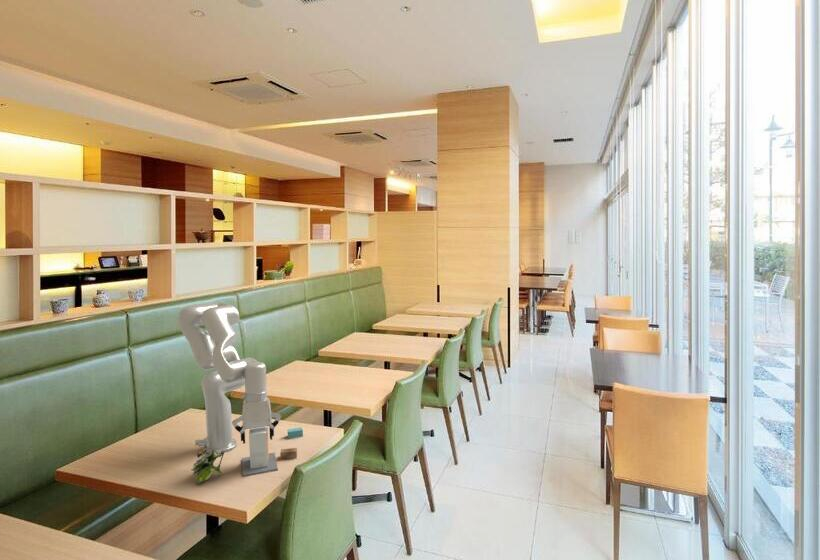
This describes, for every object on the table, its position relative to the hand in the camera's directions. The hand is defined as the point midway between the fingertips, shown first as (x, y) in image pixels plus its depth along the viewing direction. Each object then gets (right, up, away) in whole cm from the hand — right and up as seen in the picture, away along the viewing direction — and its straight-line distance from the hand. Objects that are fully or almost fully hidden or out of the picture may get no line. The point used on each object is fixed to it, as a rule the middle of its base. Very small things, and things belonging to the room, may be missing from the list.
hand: (257, 440), depth 176 cm
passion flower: (-15, -11, -7) cm, 20 cm away
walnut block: (+10, -9, +6) cm, 15 cm away
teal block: (+8, -7, +26) cm, 28 cm away
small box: (+1, -9, +1) cm, 9 cm away
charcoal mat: (+1, -9, +1) cm, 9 cm away
